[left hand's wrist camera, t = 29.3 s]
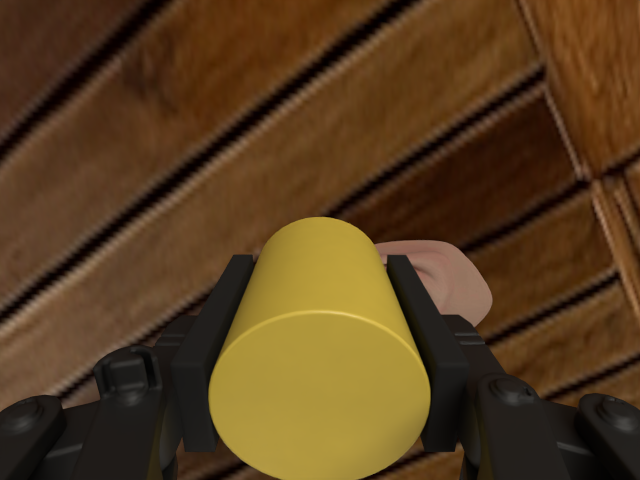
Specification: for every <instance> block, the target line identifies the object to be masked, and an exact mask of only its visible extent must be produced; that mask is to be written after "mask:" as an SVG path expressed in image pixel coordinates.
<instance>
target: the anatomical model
mask: <svg viewBox="0 0 640 480" xmlns="http://www.w3.org/2000/svg"><path fill="white" fill-rule="evenodd" d="M375 247H376V249H377V251H378V252H379V255H380V257H381V260H382V262H383V265H384V267H385V270H386V265H387V255H407V257H408V259H409V260H410V262H411V264H412V266H413V267H414V269H415V271H416V273H417V274H418V276H419V278H420V279H421V281H422V283H423V285H424V286H425V288H426V290H427V291H428V293H429V295H430V297H431V298H432V300H433V302H434V304H435V305H436V307H437V309H438V310H439V312H440V314H459V315H460V316H462V317H463V318H465V319H466V320H467V321H469V322H470V323H471V324H472V325H473V326H474V327H475V326H476V325H477V324H478V323H479V322H480V321H481V320H482V319H483V318H484V317H485V316H486V314H487V313H488V311H489V310H490V308H491V305H492V295H491V292H490V290H489V288H488V286H487V284H486V282H485V281H484V279H483V278H482V276H481V275H480V273H479V272H478V270H477V269H476V267H475V266H474V265H473V263H472V262H471V261H470V260H469V259H468V258H467V257H466V256H465V255H464V254H463V253H462V252H461V251H460V250H459V249H458V248H456V247H455V246H453V245H451V244H449V243H445V242H441V241H431V240H413V241H395V242H386V243H379V244H375Z"/></svg>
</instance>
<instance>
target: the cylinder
mask: <svg viewBox="0 0 640 480" xmlns="http://www.w3.org/2000/svg"><path fill="white" fill-rule="evenodd" d="M430 401H431V395H430V384H429V379H428V376H427V373H426V370H425V367H424V365H423V362H422V360H421V357H420V355H419V352H418V350H417V347H416V345H415V342H414V340H413V337H412V335H411V332H410V330H409V327H408V325H407V322H406V320H405V317H404V315H403V312H402V310H401V307H400V305H399V302H398V300H397V297H396V295H395V292H394V290H393V287H392V285H391V282H390V280H389V277H388V275H387V272H386V270H385V267H384V265H383V262H382V260H381V257H380V255H379V252H378V251H377V249H376V247H375V245H374V244H373V243H372V241H371V240H370V239H369V238H368V237H367V236H366V235H365V234H364V233H363V232H362V231H360V230H359V229H358V228H356V227H354V226H353V225H351V224H349V223H346V222H344V221H341V220H337V219H334V218H327V217H313V218H306V219H302V220H298V221H295V222H293V223H290V224H289V225H287V226H285V227H283V228H282V229H280V230H279V231H278V232H276V233H275V234H274V235H273V236H272V237H271V238H270V239H269V240H268V242H267V243H266V244H265V246H264V248H263V249H262V251H261V253H260V256H259V258H258V261H257V263H256V266H255V268H254V271H253V273H252V275H251V278H250V280H249V283H248V285H247V288H246V290H245V293H244V295H243V298H242V300H241V303H240V305H239V308H238V310H237V313H236V315H235V317H234V320H233V322H232V325H231V327H230V330H229V332H228V335H227V337H226V340H225V342H224V345H223V347H222V350H221V352H220V354H219V357H218V359H217V362H216V364H215V367H214V369H213V372H212V374H211V378H210V383H209V388H208V402H209V410H210V415H211V418H212V421H213V424H214V426H215V428H216V430H217V433H218V434H219V436H220V437H221V439H222V440H223V442H224V443H225V444H226V445H227V447H228V448H229V449H230V450H231V451H232V452H233V453H234V454H235V455H236V456H238V457H239V458H240V459H241V460H242V461H244V462H245V463H247V464H248V465H250V466H251V467H253V468H255V469H257V470H259V471H260V472H262V473H265V474H267V475H270V476H272V477H275V478H278V479H282V480H357V479H361V478H364V477H366V476H369V475H372V474H374V473H376V472H378V471H380V470H382V469H384V468H386V467H387V466H389V465H391V464H392V463H394V462H395V461H396V460H398V459H399V458H400V457H401V456H402V455H404V454H405V453H406V452H407V451H408V450H409V449H410V447H411V446H412V445H413V444H414V443H415V441H416V440H417V438H418V437H419V436H420V434H421V432H422V430H423V428H424V426H425V423H426V420H427V417H428V414H429V408H430Z"/></svg>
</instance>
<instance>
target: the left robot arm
mask: <svg viewBox="0 0 640 480" xmlns="http://www.w3.org/2000/svg"><path fill="white" fill-rule="evenodd" d="M253 271H254V269H253V255H233V257H232V258H231V260H230V262H229V263H228V265H227V267H226V269H225V270H224V272H223V274H222V276H221V277H220V279H219V281H218V282H217V284H216V286H215V288H214V289H213V291H212V293H211V295H210V296H209V298H208V300H207V301H206V303H205V305H204V307H203V308H202V310H201V312H200V313H199V315H198V316H180V317H178V318H177V319H176V320H174V321H173V322H171V323H170V324H169V325H168V326H167V327H166V329H165V330H164V332H163V333H162V335H161V337H160V338H159V339H158V340H157V342H156V343H155V346H153V348H152V347H148V346H144V345H134V346H128V347H124V348H120V349H118V350H116V351H113V352H111V353H109V354H107V355H106V356H105V357H103V358H102V359H100V360H99V361H98V362H97V364H96V365H95V366H94V368H93V372H94V375H95V379H96V383H97V386H98V390H99V394H100V400H99V401H95V402H92V403H88V404H84V405H79V406H75V407H71V408H66V409H63V408H62V405H61V402H60V400H59V399H58V398H56V397H55V396H51V395H39V396H33V397H30V398H27V399H24V400H21V401H18V402H16V403H14V404H13V405H11V406H9V407H7V408H5V409H4V410H2V411H1V412H0V480H177V471H178V464H177V457H176V450H177V448H178V445H179V443H180V440H181V438H182V437H183V443H184V448H185V452H215V449H216V446H217V443H218V439H219V434H218V433H217V430H216V428H215V426H214V424H213V421H212V418H211V415H210V410H209V402H208V388H209V383H210V378H211V374H212V372H213V369H214V367H215V364H216V362H217V359H218V357H219V354H220V352H221V350H222V347H223V345H224V342H225V340H226V337H227V335H228V332H229V330H230V327H231V325H232V322H233V320H234V317H235V315H236V313H237V310H238V308H239V305H240V303H241V300H242V298H243V295H244V293H245V290H246V288H247V285H248V283H249V280H250V278H251V275H252V273H253ZM386 272H387V275H388V277H389V280H390V282H391V285H392V287H393V290H394V292H395V295H396V297H397V300H398V302H399V305H400V307H401V310H402V312H403V315H404V317H405V320H406V322H407V325H408V327H409V330H410V332H411V335H412V337H413V340H414V342H415V345H416V347H417V350H418V352H419V355H420V357H421V360H422V362H423V365H424V367H425V370H426V373H427V376H428V379H429V384H430V395H431V401H430V408H429V414H428V417H427V420H426V423H425V426H424V428H423V430H422V432H421V434H420V437H421V440H422V443H423V447H424V450H425V452H455V447H456V441H457V436H458V437H459V439H460V442H461V444H462V446H463V449H464V451H465V452H464V457H463V463H462V468H461V473H460V478H459V480H640V410H639V409H637V408H636V407H634V406H632V405H631V404H629V403H627V402H625V401H623V400H621V399H618V398H615V397H612V396H609V395H605V394H598V393H592V394H585V395H584V396H583V397H582V398H581V399H580V401H579V404H578V407H577V408H576V407H571V406H567V405H563V404H558V403H554V402H550V401H546V400H543V399H540V398H539V396H538V395H537V393H536V392H535V390H534V389H533V388H532V387H531V386H529V385H528V384H527V383H526V382H524V381H522V380H520V379H519V378H517V377H515V376H512V375H508V374H506V372H505V371H504V369H503V368H502V367H501V365H500V364H499V362H498V361H497V359H496V358H495V357H494V355H493V354H492V352H491V351H490V349H489V348H488V346H487V345H485V342H484V341H483V339H482V338H481V336H479V334H478V332H477V331H476V329H475V328H474V326H473V325H472V324H471V323H470V322H469V321H467V320H466V319H465V318H463V317H462V316H460V315H459V314H440V312H439V310H438V309H437V307H436V305H435V304H434V302H433V300H432V298H431V297H430V295H429V293H428V291H427V290H426V288H425V286H424V285H423V283H422V281H421V279H420V278H419V276H418V274H417V273H416V271H415V269H414V267H413V266H412V264H411V262H410V260H409V259H408V257H407V255H387V265H386Z"/></svg>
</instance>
